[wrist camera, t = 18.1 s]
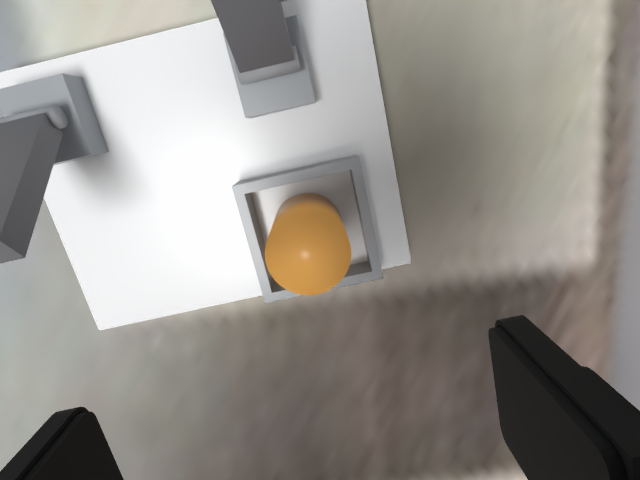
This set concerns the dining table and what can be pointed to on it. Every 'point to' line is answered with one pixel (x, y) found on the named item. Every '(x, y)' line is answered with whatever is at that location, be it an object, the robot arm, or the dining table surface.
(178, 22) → the dining table surface
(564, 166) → the dining table surface
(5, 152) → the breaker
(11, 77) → the panel
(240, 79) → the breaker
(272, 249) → the cap
